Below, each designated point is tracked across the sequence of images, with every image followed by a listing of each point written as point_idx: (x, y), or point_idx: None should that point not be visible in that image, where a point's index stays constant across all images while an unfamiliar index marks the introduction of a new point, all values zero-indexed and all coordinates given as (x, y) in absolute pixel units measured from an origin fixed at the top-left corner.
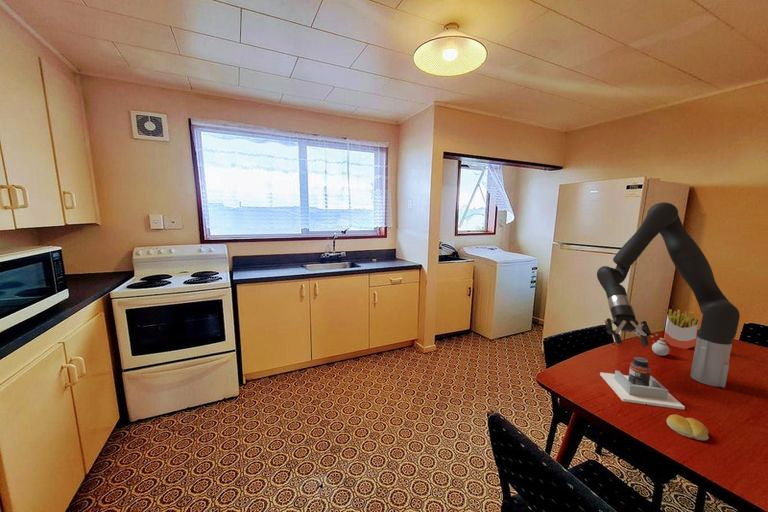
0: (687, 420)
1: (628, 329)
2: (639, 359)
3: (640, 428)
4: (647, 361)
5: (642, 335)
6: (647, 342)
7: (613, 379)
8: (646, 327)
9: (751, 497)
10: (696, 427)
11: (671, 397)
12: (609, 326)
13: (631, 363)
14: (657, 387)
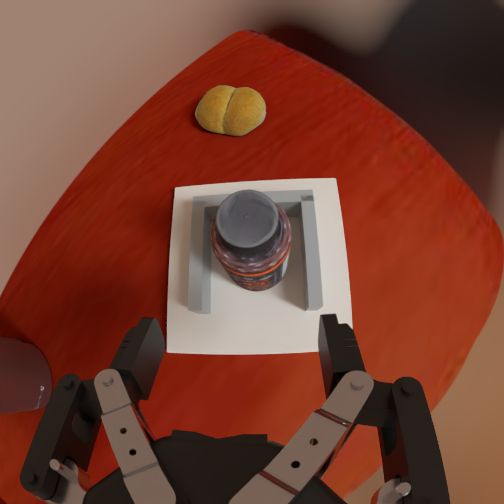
0: (228, 100)
1: (220, 443)
2: (257, 213)
3: (328, 98)
4: (226, 199)
5: (126, 384)
6: (129, 337)
7: (323, 300)
8: (51, 433)
9: (241, 33)
10: (225, 87)
11: (178, 229)
12: (427, 424)
13: (286, 240)
14: (218, 205)
